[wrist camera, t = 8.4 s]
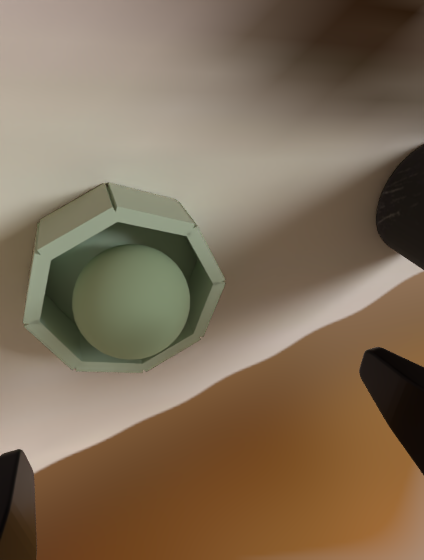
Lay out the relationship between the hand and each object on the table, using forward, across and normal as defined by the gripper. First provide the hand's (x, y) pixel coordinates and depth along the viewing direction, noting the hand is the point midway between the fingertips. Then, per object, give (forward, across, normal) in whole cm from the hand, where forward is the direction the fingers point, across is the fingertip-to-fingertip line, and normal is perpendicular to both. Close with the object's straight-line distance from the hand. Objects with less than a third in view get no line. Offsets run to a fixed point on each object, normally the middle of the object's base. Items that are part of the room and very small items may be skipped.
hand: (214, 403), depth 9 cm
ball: (+8, +1, +2) cm, 8 cm away
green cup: (+11, +1, +2) cm, 11 cm away
